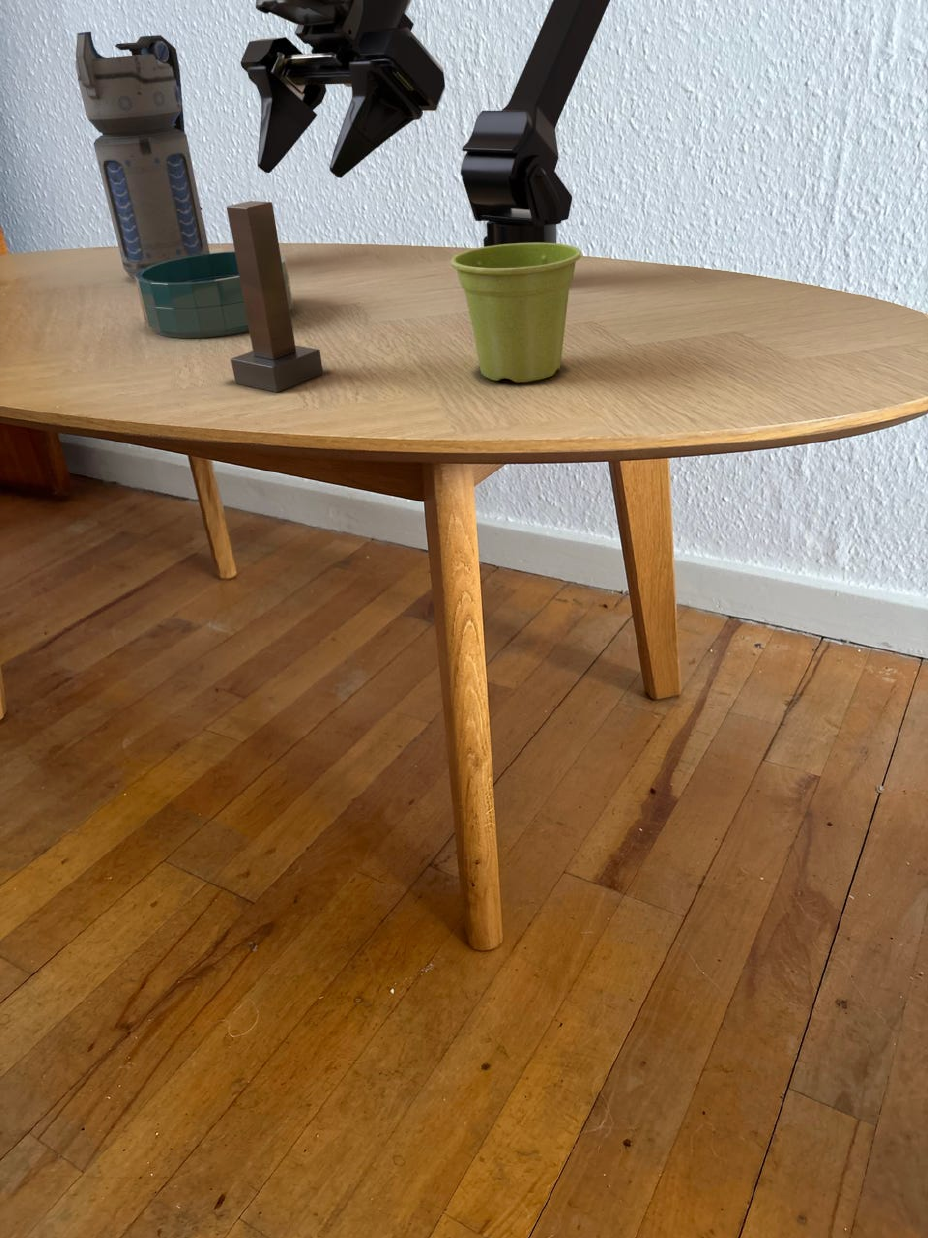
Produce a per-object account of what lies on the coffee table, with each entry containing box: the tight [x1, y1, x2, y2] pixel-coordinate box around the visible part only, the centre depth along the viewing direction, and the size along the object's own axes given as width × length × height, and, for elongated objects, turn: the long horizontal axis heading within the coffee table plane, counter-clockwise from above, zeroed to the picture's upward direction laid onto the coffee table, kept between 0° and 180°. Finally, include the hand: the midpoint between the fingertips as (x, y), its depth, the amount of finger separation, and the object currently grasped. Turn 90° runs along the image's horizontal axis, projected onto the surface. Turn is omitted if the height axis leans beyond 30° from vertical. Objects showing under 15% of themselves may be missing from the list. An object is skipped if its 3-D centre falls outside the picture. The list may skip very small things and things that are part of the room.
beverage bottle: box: [75, 31, 211, 279], centre depth 109 cm, size 10×13×25 cm
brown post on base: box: [226, 200, 324, 393], centre depth 73 cm, size 5×5×13 cm
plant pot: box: [450, 243, 582, 383], centre depth 72 cm, size 9×9×9 cm
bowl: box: [134, 250, 294, 339], centre depth 94 cm, size 14×14×5 cm
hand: (297, 172), depth 75 cm, fingers open, 9 cm apart
